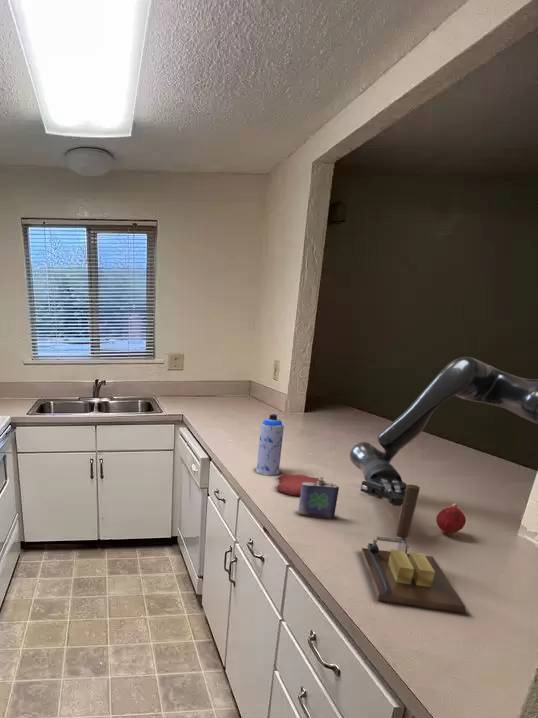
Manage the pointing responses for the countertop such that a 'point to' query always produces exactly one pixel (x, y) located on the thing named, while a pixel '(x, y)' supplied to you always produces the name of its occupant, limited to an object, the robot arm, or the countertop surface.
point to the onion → (451, 519)
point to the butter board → (412, 591)
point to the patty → (293, 483)
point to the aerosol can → (270, 446)
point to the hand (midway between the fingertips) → (398, 502)
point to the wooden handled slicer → (401, 521)
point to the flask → (318, 499)
